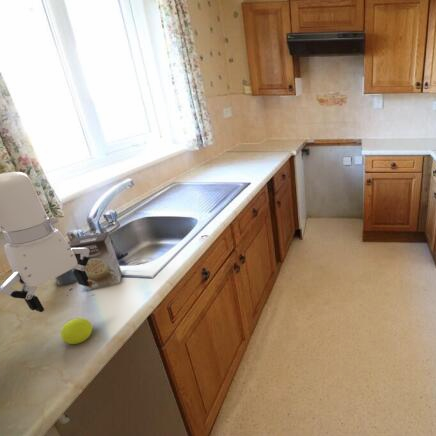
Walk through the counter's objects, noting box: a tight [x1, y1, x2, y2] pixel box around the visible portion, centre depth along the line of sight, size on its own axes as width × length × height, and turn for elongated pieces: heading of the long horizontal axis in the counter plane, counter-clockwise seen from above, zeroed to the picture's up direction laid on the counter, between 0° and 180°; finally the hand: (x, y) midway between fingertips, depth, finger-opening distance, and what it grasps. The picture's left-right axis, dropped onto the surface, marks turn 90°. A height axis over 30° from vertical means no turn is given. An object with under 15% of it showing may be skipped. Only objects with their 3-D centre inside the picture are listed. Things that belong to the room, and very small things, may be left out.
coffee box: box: [69, 231, 123, 291], centre depth 98 cm, size 9×6×16 cm
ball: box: [60, 317, 93, 345], centre depth 79 cm, size 6×6×6 cm
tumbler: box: [54, 268, 78, 287], centre depth 101 cm, size 6×6×9 cm
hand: (62, 296), depth 75 cm, fingers open, 9 cm apart
